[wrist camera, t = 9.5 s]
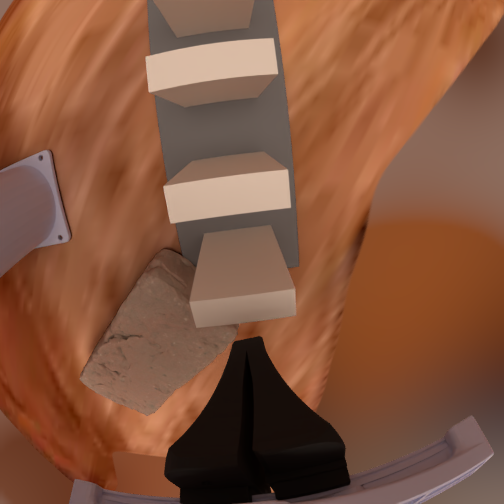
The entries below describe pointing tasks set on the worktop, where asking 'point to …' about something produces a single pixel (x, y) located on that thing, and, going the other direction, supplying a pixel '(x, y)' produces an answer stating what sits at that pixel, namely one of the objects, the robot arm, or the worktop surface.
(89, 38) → the worktop surface
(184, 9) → the ivory domino
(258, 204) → the ivory domino
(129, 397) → the brick
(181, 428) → the worktop surface
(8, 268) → the robot arm
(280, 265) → the ivory domino
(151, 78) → the ivory domino
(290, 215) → the mat
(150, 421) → the worktop surface
